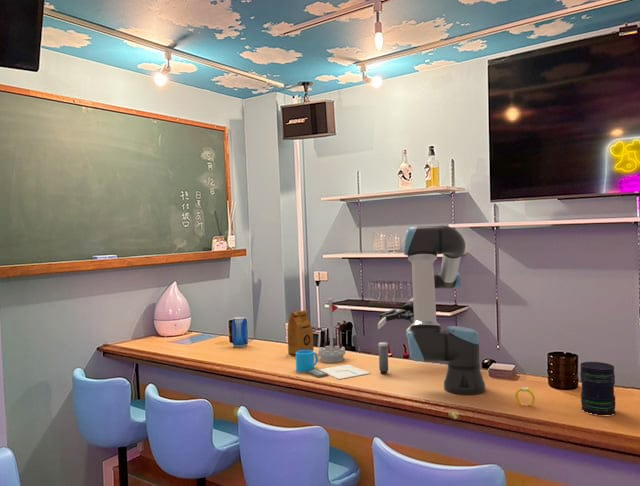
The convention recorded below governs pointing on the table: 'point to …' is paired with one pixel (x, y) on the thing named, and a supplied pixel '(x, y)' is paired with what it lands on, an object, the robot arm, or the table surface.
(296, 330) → the coffee package
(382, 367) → the marker
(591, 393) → the storage jar
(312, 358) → the mug
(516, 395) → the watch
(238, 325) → the beer can
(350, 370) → the paper
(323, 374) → the dark grey flat block
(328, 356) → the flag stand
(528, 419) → the table surface
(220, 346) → the table surface
